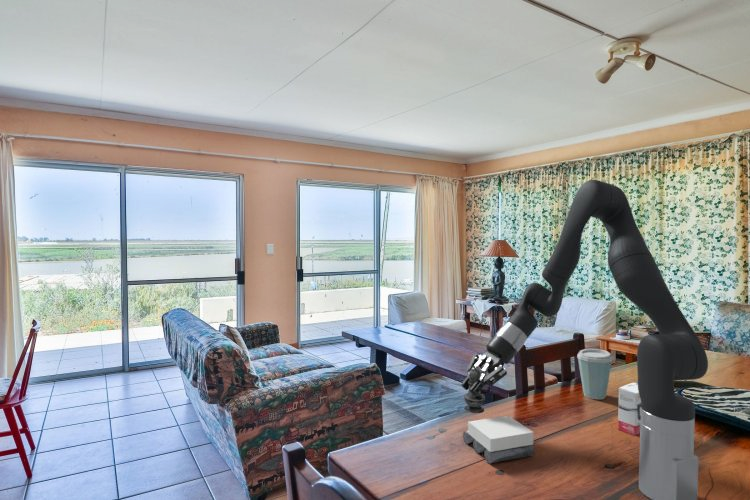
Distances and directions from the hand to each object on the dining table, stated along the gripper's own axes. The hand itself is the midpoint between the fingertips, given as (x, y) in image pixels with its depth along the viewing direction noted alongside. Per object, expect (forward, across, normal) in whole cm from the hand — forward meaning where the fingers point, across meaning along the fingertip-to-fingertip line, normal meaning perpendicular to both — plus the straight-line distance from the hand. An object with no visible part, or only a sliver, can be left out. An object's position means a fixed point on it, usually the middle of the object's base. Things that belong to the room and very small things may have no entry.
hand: (468, 390), depth 118 cm
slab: (+4, +12, +7) cm, 15 cm away
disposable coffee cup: (-30, -10, +46) cm, 56 cm away
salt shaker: (+3, 0, +6) cm, 6 cm away
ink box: (-23, +13, +40) cm, 48 cm away
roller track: (+7, +12, +9) cm, 17 cm away
